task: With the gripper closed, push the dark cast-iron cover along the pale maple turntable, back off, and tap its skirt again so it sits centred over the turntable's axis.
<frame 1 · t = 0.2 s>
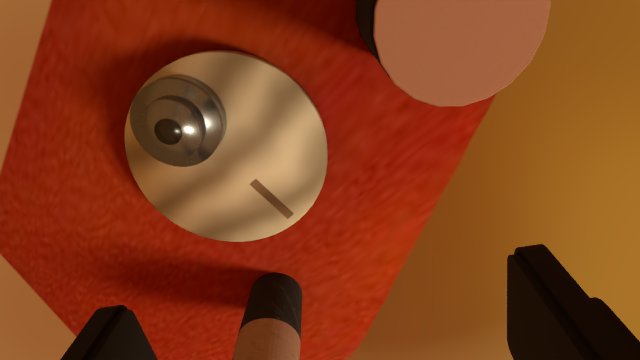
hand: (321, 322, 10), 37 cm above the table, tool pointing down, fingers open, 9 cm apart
travel mug: (277, 292, 57), on the table
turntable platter: (228, 154, 45), point 3 cm above the table, hinge at 0.0°, touching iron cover
coffee jar: (407, 8, 41), on the table
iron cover: (183, 117, 42), point 4 cm above the table, touching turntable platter
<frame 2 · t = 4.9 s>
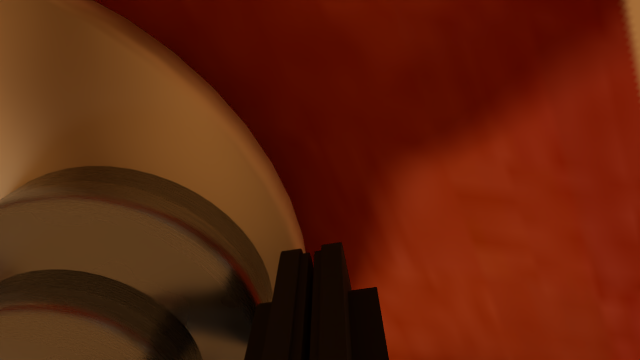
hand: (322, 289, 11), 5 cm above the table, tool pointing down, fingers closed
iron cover: (131, 296, 13), point 4 cm above the table, touching gripper, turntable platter
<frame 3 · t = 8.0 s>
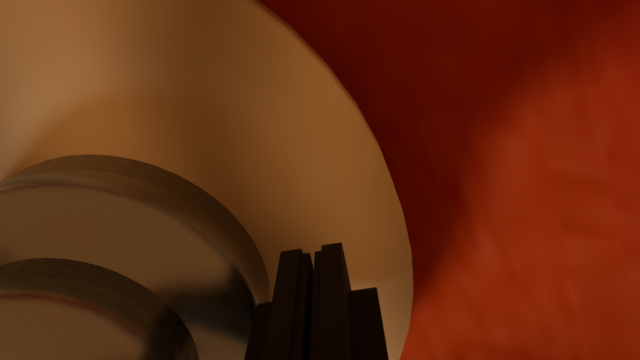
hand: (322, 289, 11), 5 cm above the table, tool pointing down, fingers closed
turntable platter: (83, 286, 14), point 3 cm above the table, hinge at 0.0°, touching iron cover
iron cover: (126, 288, 13), point 4 cm above the table, touching gripper, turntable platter
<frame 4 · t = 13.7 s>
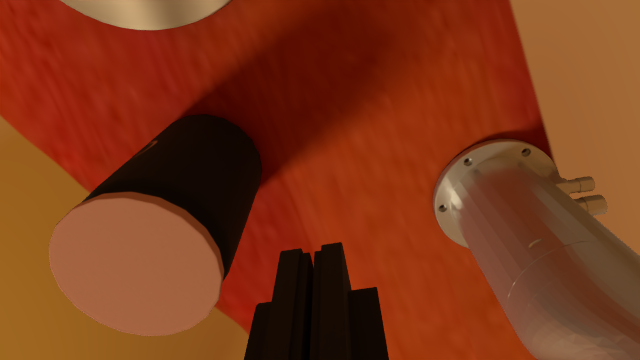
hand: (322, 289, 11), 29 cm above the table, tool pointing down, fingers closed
coffee jar: (212, 160, 41), on the table
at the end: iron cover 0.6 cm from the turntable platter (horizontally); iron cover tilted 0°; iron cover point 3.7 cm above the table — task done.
